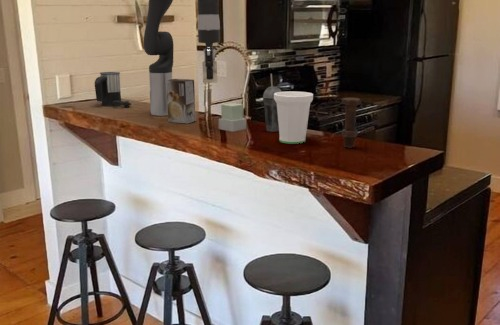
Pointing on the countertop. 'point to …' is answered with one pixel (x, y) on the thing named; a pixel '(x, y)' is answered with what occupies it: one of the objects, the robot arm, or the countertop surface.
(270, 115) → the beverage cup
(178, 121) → the coffee box
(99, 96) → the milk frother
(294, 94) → the cup
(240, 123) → the slab
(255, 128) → the countertop surface
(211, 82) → the birch block
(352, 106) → the bolt
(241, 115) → the sage cube
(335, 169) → the countertop surface
